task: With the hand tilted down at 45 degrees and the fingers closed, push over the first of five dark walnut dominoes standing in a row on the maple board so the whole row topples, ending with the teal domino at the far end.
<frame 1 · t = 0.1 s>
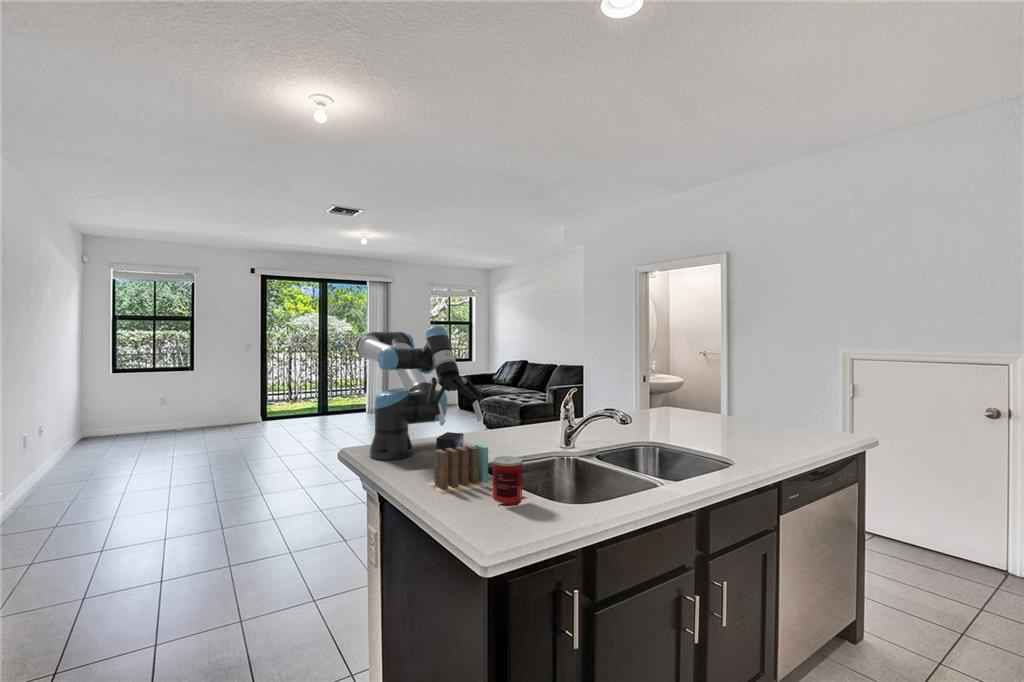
hand: (462, 421, 159), 15 cm above the counter, tool tilted 35°, fingers open, 13 cm apart
board: (461, 486, 140), on the counter
domino 3: (461, 483, 140), point 1 cm above the counter, touching board
domino 1: (441, 487, 137), point 1 cm above the counter, touching board
canned food: (507, 502, 128), on the counter
domino 5: (481, 479, 144), point 1 cm above the counter, touching board
domino 2: (451, 485, 138), point 1 cm above the counter, touching board
small box: (450, 467, 161), on the counter
domino 4: (471, 481, 142), point 1 cm above the counter, touching board
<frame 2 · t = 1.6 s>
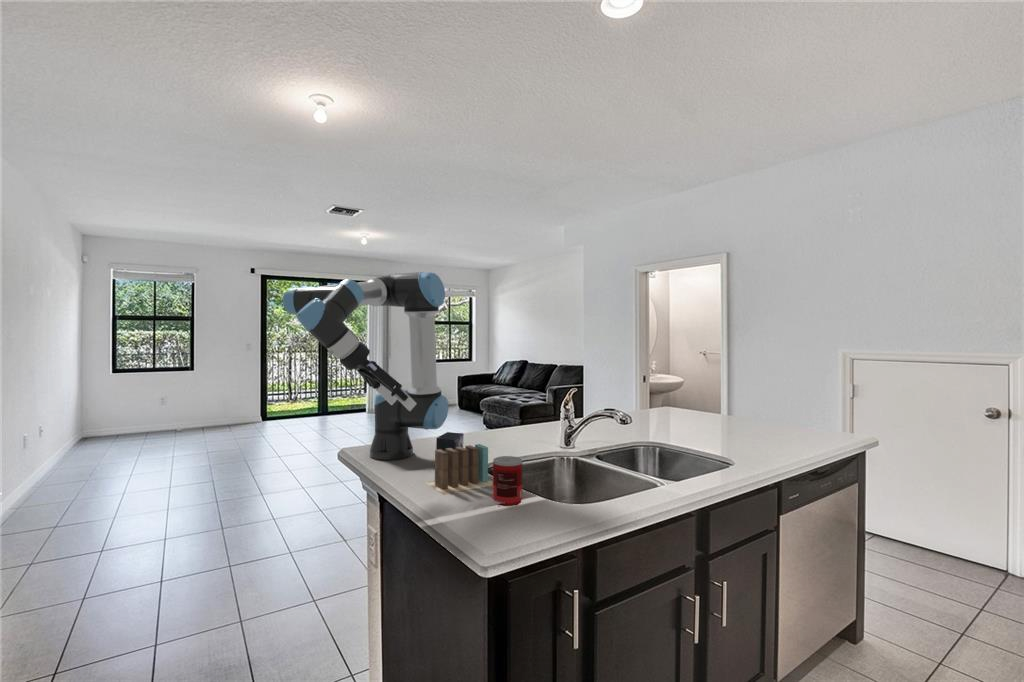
hand: (403, 404, 136), 24 cm above the counter, tool tilted 45°, fingers open, 13 cm apart
nothing on the counter moved.
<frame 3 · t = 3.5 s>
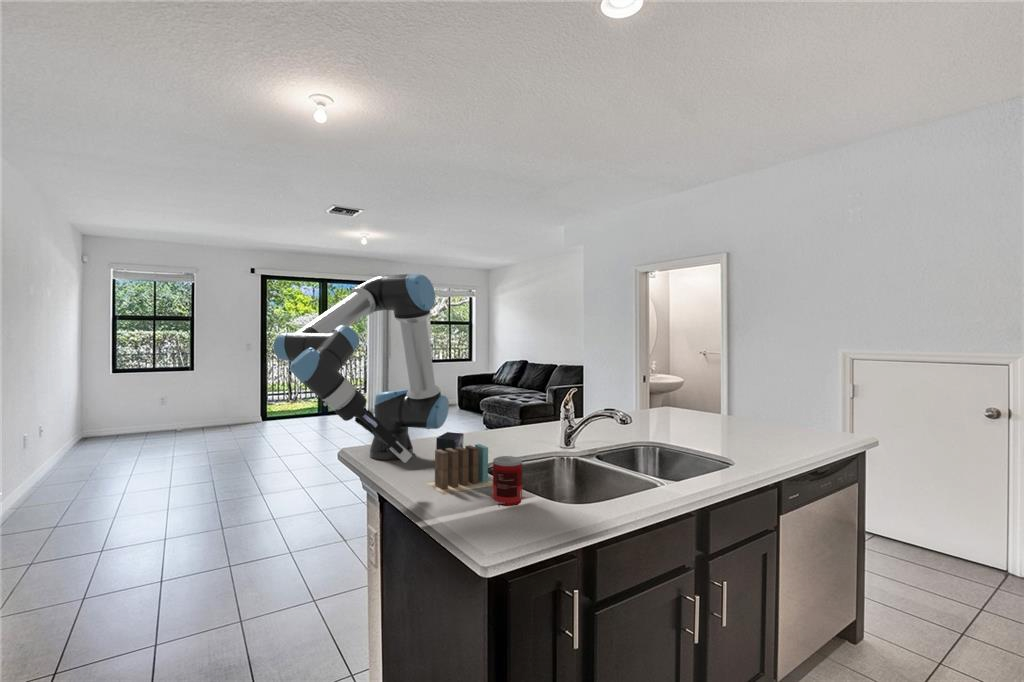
hand: (407, 458, 132), 10 cm above the counter, tool tilted 45°, fingers closed
nothing on the counter moved.
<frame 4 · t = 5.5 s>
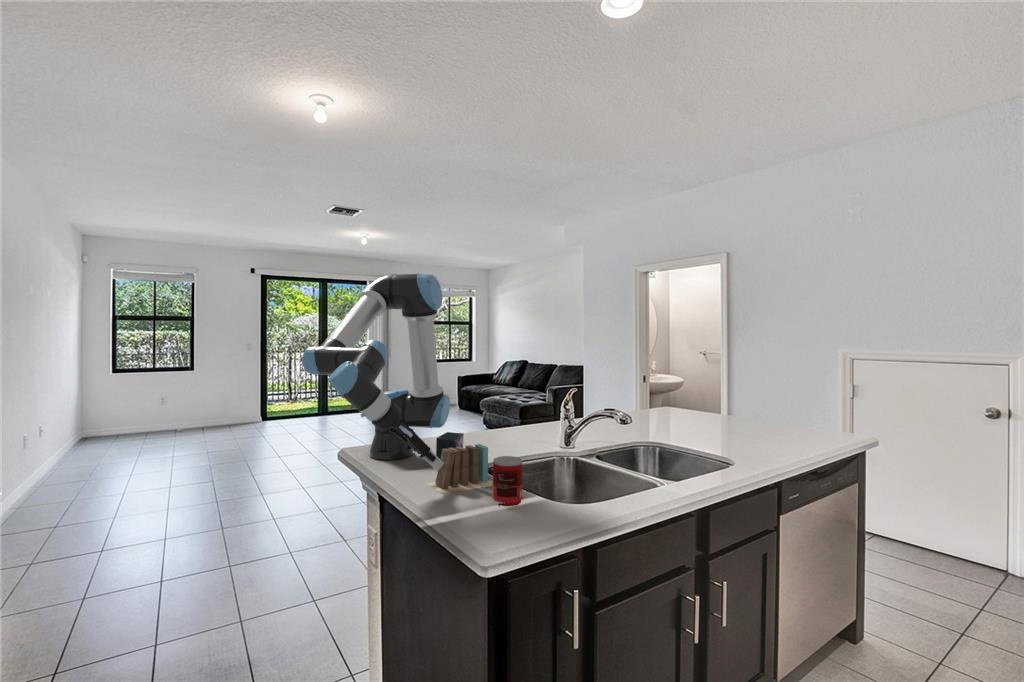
hand: (440, 466, 136), 7 cm above the counter, tool tilted 45°, fingers closed
domino 1: (441, 486, 137), point 1 cm above the counter, tilted 13°, touching board
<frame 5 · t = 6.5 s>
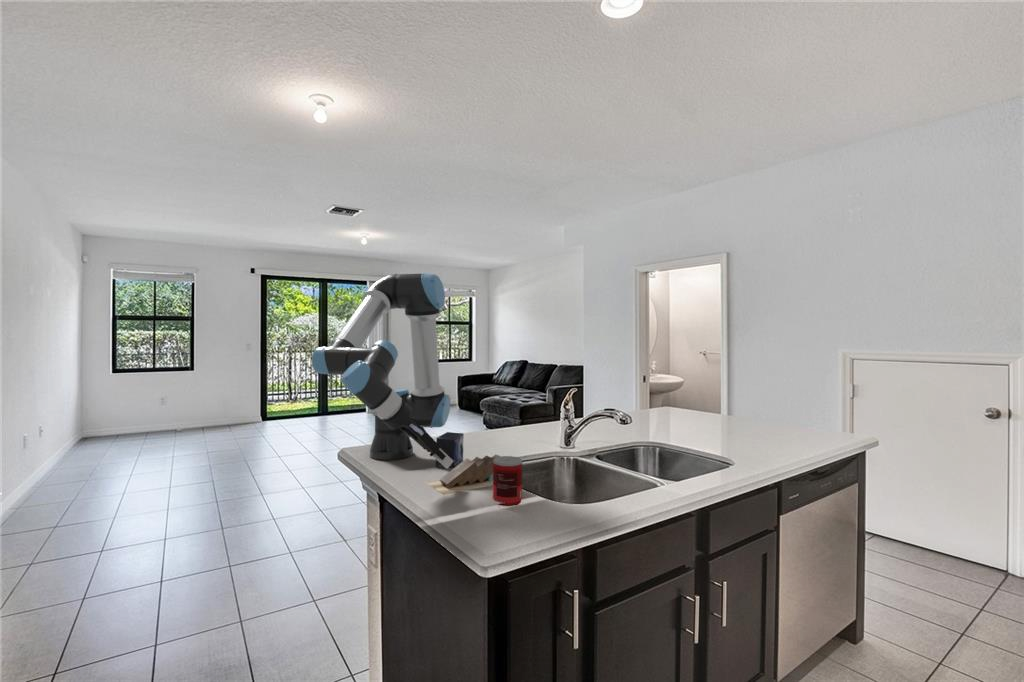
hand: (449, 464, 138), 7 cm above the counter, tool tilted 45°, fingers closed
domino 3: (465, 480, 141), point 2 cm above the counter, tilted 61°, touching domino 2, domino 4
domino 1: (444, 484, 137), point 2 cm above the counter, tilted 61°, touching board, domino 2
domino 5: (485, 476, 144), point 2 cm above the counter, tilted 96°, touching board, domino 4
domino 2: (455, 482, 139), point 2 cm above the counter, tilted 61°, touching domino 1, domino 3
domino 4: (475, 478, 143), point 2 cm above the counter, tilted 61°, touching board, domino 3, domino 5
everything else where it was.
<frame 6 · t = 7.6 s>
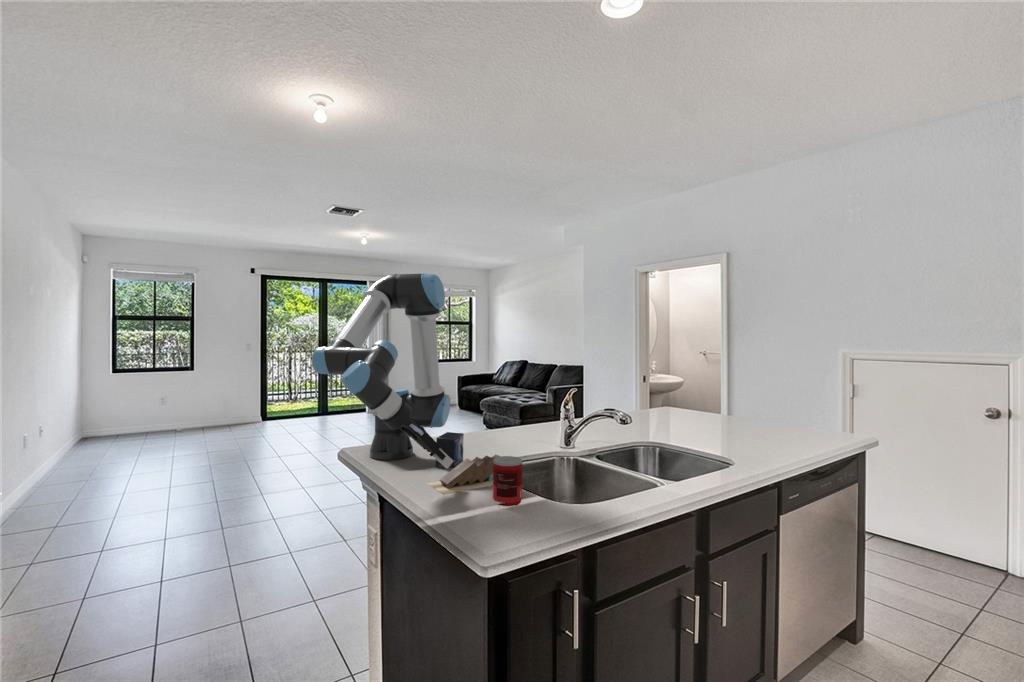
hand: (449, 464, 138), 7 cm above the counter, tool tilted 45°, fingers closed
nothing on the counter moved.
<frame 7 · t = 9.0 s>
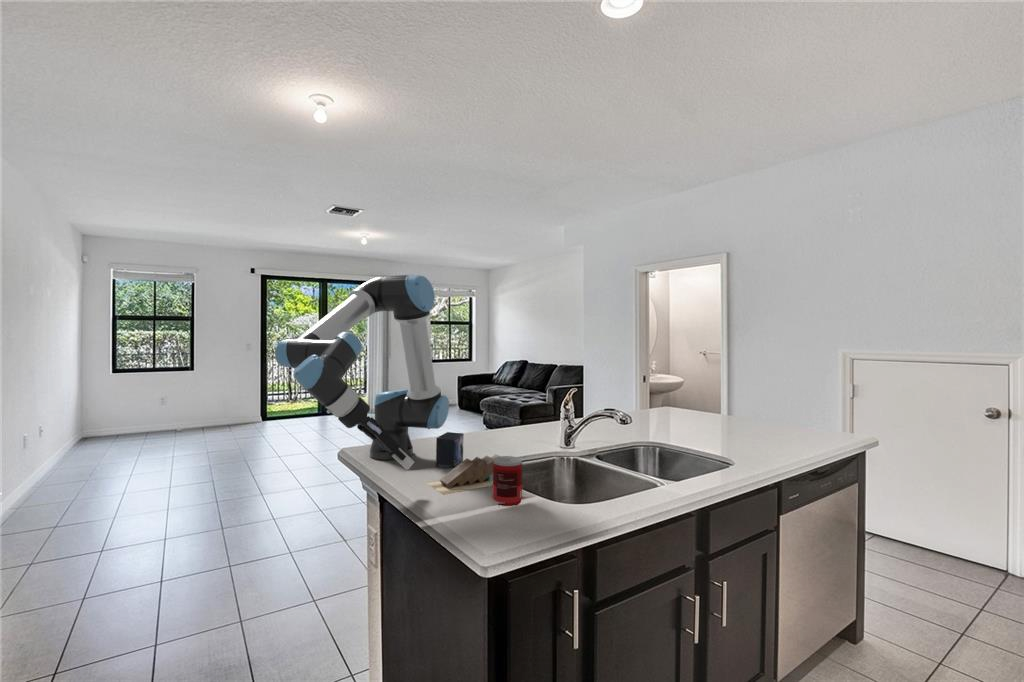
hand: (410, 465, 132), 8 cm above the counter, tool tilted 45°, fingers closed
nothing on the counter moved.
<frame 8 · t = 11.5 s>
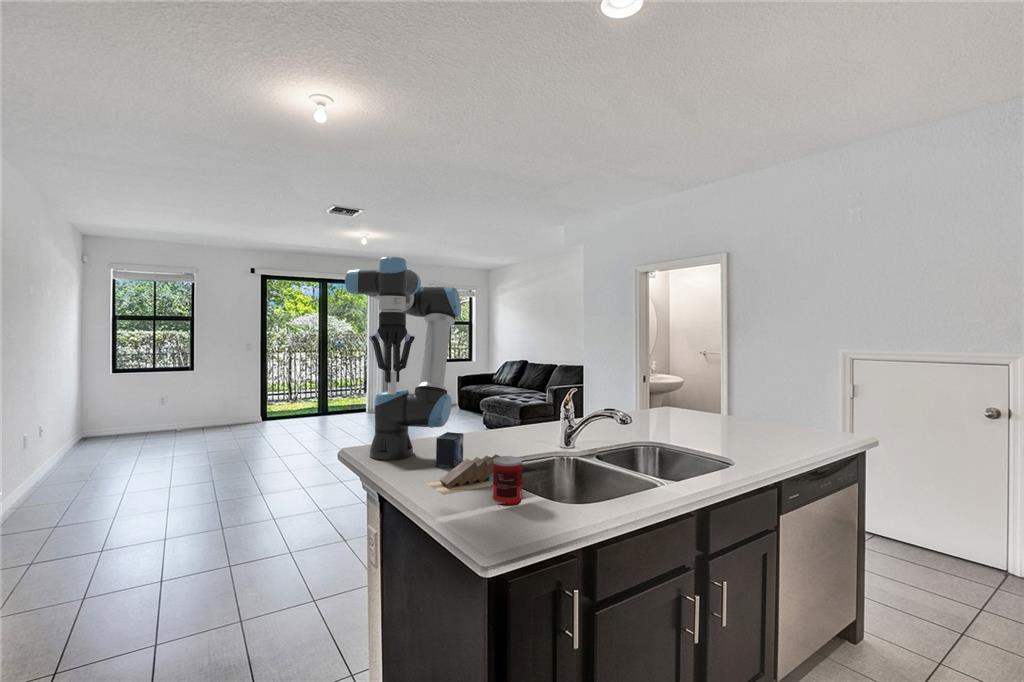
hand: (392, 393, 141), 26 cm above the counter, tool pointing down, fingers closed
nothing on the counter moved.
at the end: domino 5 tilted 96°; domino 1 tilted 61° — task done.
